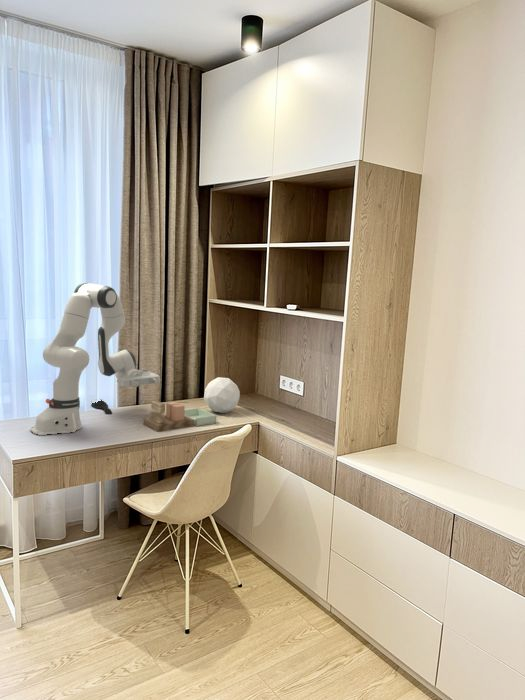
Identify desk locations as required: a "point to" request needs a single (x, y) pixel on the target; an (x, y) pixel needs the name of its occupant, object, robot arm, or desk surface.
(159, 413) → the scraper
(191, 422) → the board
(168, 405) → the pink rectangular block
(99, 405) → the hairbrush
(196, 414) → the tray
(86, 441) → the desk surface
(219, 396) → the geometric polyhedron
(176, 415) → the pink building block
